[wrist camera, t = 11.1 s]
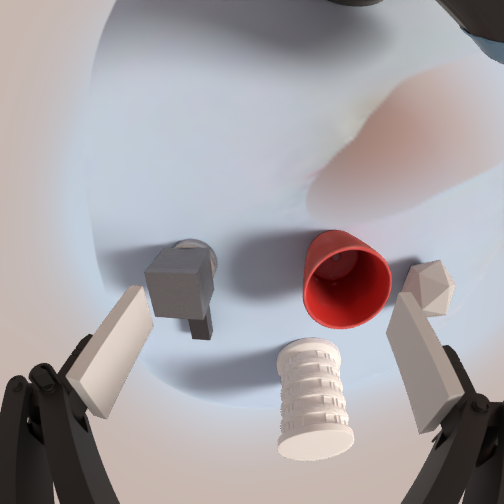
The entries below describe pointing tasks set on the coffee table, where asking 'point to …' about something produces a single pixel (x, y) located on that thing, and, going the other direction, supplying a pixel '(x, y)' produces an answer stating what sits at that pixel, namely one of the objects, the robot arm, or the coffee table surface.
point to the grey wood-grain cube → (181, 283)
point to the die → (430, 287)
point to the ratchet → (204, 327)
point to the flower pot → (344, 281)
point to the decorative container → (312, 401)
